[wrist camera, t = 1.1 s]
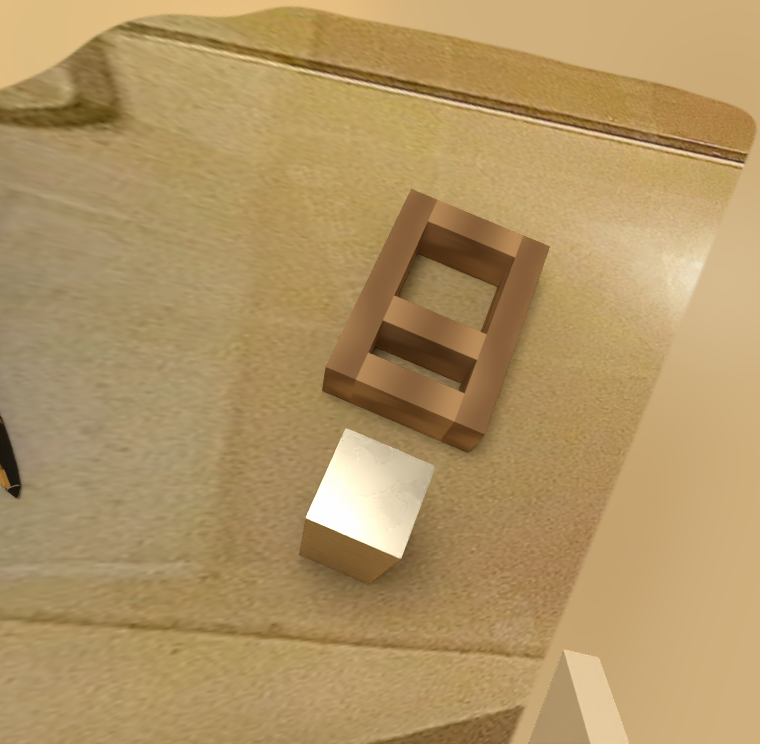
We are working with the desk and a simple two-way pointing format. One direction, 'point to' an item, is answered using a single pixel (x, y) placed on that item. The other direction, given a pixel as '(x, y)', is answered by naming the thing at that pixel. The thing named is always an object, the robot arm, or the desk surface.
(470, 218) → the wooden slotted frame
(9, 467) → the fountain pen
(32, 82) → the desk surface
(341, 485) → the grey tall rectangular block
